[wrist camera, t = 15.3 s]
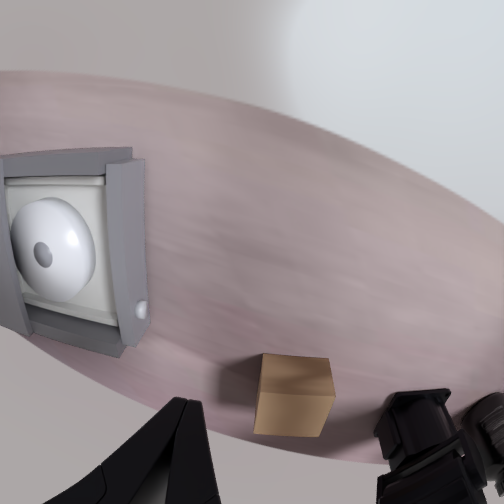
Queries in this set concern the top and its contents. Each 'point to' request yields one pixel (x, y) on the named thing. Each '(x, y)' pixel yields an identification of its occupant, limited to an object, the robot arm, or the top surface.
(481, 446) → the supplement bottle
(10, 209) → the tray
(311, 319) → the top surface
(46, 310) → the player housing
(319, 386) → the block
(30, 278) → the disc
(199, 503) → the robot arm
